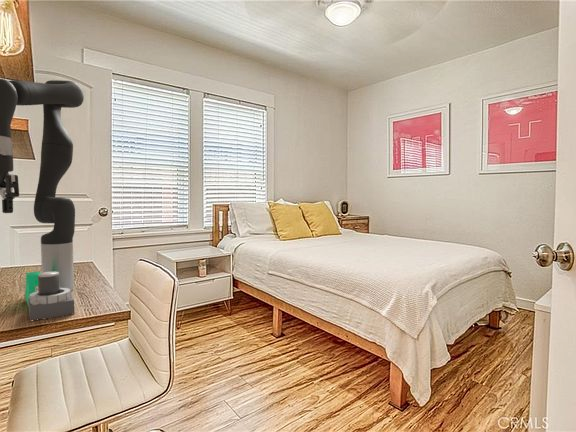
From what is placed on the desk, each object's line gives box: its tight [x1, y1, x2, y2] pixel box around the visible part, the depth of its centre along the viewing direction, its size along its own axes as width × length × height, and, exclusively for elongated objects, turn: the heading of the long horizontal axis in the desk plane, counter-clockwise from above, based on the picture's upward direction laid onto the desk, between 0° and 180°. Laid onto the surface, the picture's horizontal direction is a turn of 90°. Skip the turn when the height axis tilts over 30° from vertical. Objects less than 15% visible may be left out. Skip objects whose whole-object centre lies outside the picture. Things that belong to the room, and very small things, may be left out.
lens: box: [37, 272, 60, 296], centre depth 95 cm, size 5×5×8 cm
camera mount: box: [24, 271, 41, 306], centre depth 104 cm, size 12×8×10 cm, turn 44°
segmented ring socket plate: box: [27, 288, 75, 322], centre depth 96 cm, size 10×10×6 cm
